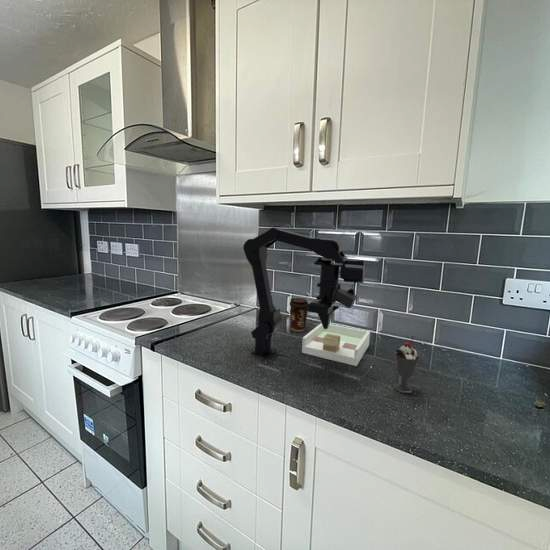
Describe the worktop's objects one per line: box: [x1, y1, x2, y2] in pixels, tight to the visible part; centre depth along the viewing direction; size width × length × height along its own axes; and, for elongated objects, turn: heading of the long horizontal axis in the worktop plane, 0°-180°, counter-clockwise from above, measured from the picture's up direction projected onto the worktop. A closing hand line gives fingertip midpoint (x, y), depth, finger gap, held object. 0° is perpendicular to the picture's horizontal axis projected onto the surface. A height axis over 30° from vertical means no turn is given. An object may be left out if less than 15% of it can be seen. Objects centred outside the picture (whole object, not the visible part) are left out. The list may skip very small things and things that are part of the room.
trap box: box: [301, 323, 371, 367], centre depth 108 cm, size 20×19×6 cm
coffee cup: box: [289, 297, 309, 332], centre depth 127 cm, size 9×8×13 cm
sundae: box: [393, 335, 421, 391], centre depth 81 cm, size 7×7×15 cm
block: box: [323, 333, 340, 353], centre depth 101 cm, size 4×4×4 cm
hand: (325, 328), depth 94 cm, fingers closed
